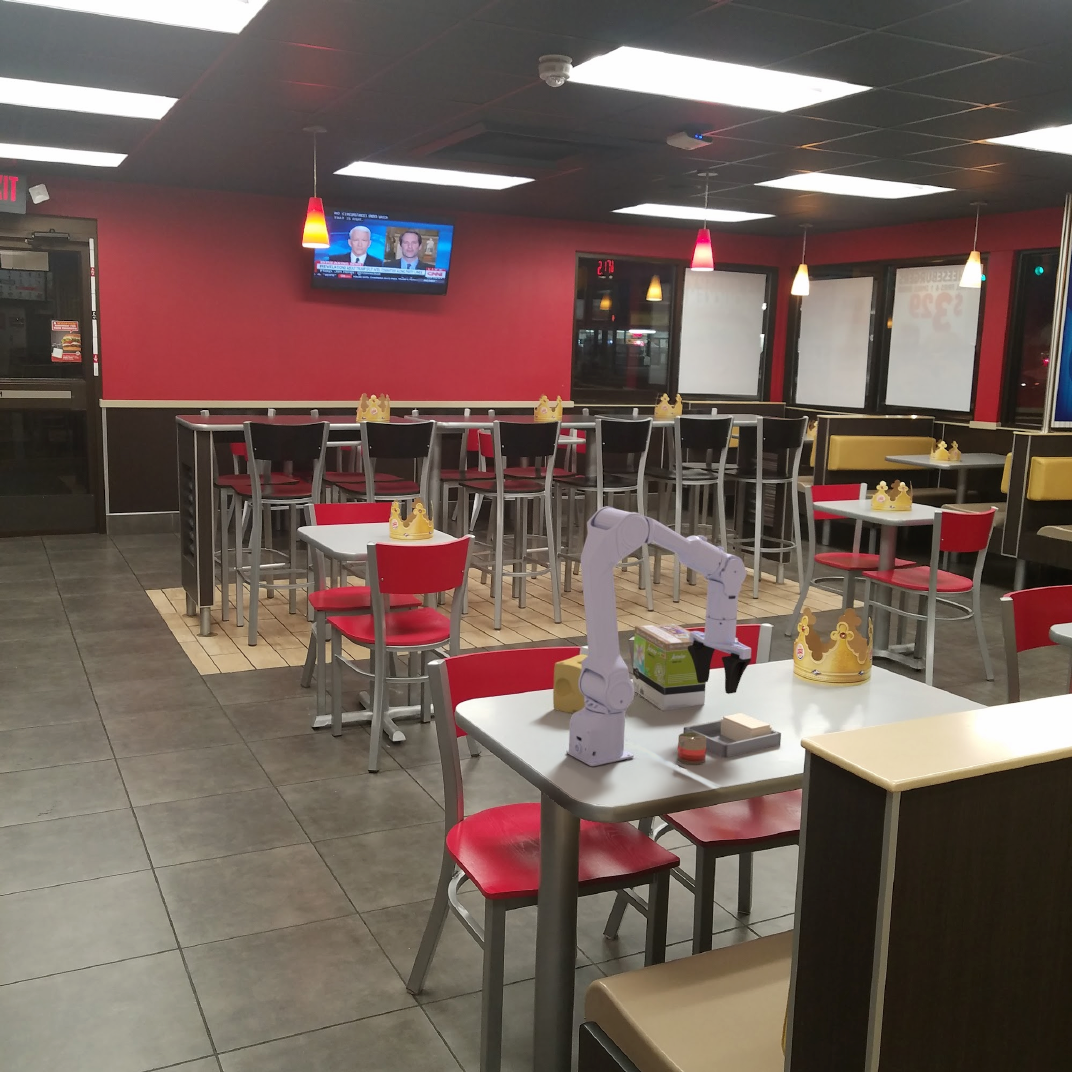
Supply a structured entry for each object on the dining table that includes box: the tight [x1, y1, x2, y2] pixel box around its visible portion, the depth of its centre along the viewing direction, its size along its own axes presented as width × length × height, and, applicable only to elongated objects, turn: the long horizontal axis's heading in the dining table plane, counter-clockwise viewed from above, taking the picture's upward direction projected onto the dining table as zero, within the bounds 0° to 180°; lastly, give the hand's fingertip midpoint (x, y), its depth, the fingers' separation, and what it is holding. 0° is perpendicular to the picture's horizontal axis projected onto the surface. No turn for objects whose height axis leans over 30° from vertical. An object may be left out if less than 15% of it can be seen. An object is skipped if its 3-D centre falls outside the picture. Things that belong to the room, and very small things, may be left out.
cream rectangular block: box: [720, 712, 772, 741], centre depth 195 cm, size 5×8×4 cm, turn 33°
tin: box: [676, 732, 707, 769], centre depth 183 cm, size 5×5×5 cm
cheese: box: [552, 653, 588, 714], centre depth 212 cm, size 10×11×10 cm
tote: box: [682, 719, 782, 759], centre depth 193 cm, size 14×11×3 cm
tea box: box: [632, 622, 707, 712], centre depth 219 cm, size 15×10×15 cm
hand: (716, 687), depth 197 cm, fingers open, 7 cm apart
